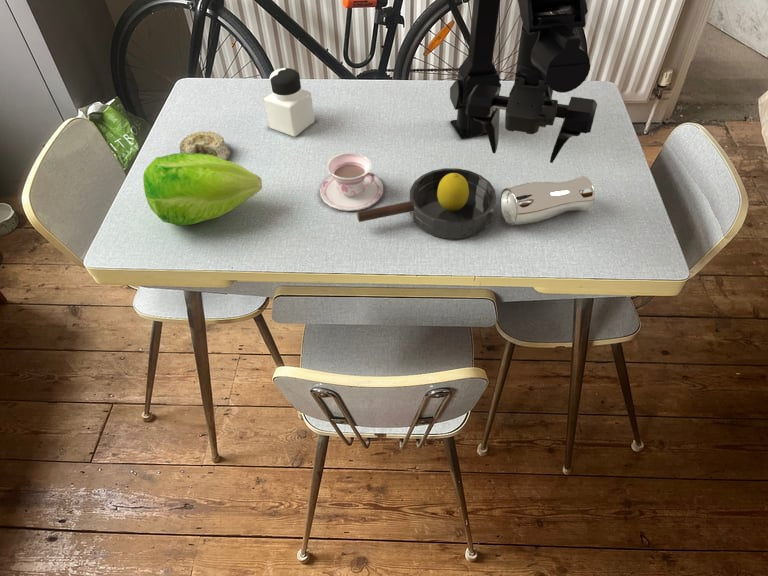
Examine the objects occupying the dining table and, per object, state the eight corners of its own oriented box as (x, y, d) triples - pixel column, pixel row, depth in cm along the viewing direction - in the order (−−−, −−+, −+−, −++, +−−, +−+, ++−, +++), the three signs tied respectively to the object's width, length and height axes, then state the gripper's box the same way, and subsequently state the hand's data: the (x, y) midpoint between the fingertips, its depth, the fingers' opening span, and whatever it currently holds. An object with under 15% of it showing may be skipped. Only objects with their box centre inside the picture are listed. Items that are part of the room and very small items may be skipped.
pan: (399, 194, 108) (399, 176, 105) (474, 179, 111) (476, 161, 108) (425, 248, 98) (425, 230, 95) (507, 230, 101) (510, 212, 98)
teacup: (309, 203, 107) (305, 176, 102) (336, 166, 114) (333, 140, 109) (368, 218, 104) (367, 191, 99) (392, 179, 111) (392, 152, 106)
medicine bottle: (315, 121, 125) (308, 69, 116) (295, 137, 121) (286, 85, 112) (289, 112, 128) (281, 61, 119) (269, 128, 124) (258, 76, 115)
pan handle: (356, 217, 100) (356, 209, 99) (411, 206, 102) (411, 198, 101) (359, 224, 99) (358, 216, 98) (414, 212, 101) (414, 205, 100)
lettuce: (265, 235, 101) (252, 180, 92) (149, 244, 100) (125, 190, 91) (267, 186, 111) (256, 132, 102) (162, 194, 109) (140, 141, 100)
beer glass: (588, 166, 100) (509, 180, 97) (601, 202, 98) (521, 217, 95) (569, 184, 107) (495, 197, 103) (581, 218, 105) (506, 232, 102)
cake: (179, 150, 120) (172, 126, 116) (227, 141, 122) (221, 117, 118) (182, 174, 113) (174, 150, 109) (233, 164, 115) (227, 140, 111)
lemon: (465, 221, 102) (469, 185, 96) (434, 218, 103) (436, 182, 97) (468, 201, 106) (472, 166, 100) (438, 198, 106) (440, 162, 100)
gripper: (458, 76, 79) (452, 173, 90) (599, 94, 74) (574, 195, 85) (479, 45, 86) (471, 138, 97) (608, 60, 81) (584, 156, 92)
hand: (522, 156), depth 93 cm, fingers open, 9 cm apart
